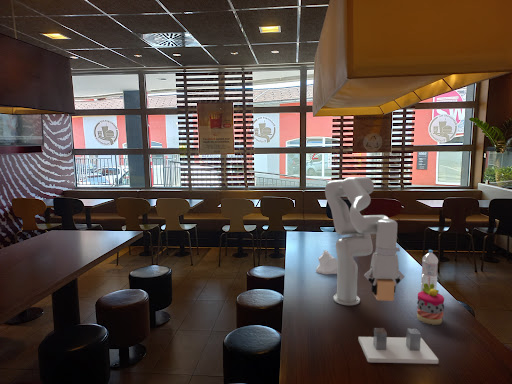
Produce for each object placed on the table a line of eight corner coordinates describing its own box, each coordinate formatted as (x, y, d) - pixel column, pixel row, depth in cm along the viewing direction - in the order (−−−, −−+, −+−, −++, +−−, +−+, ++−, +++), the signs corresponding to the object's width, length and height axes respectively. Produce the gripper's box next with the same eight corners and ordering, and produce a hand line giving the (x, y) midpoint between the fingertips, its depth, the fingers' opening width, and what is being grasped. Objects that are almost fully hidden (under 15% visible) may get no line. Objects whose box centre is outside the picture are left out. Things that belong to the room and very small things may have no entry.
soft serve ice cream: (332, 279, 202) (327, 257, 199) (312, 275, 214) (307, 254, 211) (344, 269, 210) (340, 248, 207) (324, 265, 222) (320, 245, 218)
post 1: (373, 348, 131) (373, 327, 130) (382, 348, 131) (383, 328, 130) (375, 353, 127) (376, 333, 126) (386, 353, 127) (386, 333, 126)
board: (358, 340, 136) (358, 336, 136) (421, 341, 135) (421, 337, 135) (368, 362, 122) (368, 358, 122) (438, 363, 121) (438, 359, 121)
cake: (448, 323, 149) (451, 289, 147) (428, 326, 146) (430, 292, 144) (430, 312, 159) (432, 280, 157) (410, 315, 156) (412, 283, 154)
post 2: (405, 348, 130) (406, 328, 129) (415, 348, 130) (416, 328, 129) (409, 354, 127) (410, 333, 126) (419, 354, 127) (420, 333, 126)
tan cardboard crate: (372, 293, 143) (373, 275, 142) (388, 293, 143) (389, 276, 142) (377, 300, 137) (378, 281, 136) (393, 300, 137) (394, 282, 136)
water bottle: (423, 295, 177) (426, 247, 174) (437, 299, 172) (440, 250, 169) (417, 299, 172) (420, 250, 169) (432, 304, 167) (435, 253, 164)
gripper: (404, 248, 141) (401, 290, 143) (360, 247, 142) (359, 289, 144) (411, 254, 133) (408, 298, 136) (365, 253, 134) (363, 297, 137)
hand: (383, 293), depth 140 cm, fingers closed on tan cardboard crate, 6 cm apart
